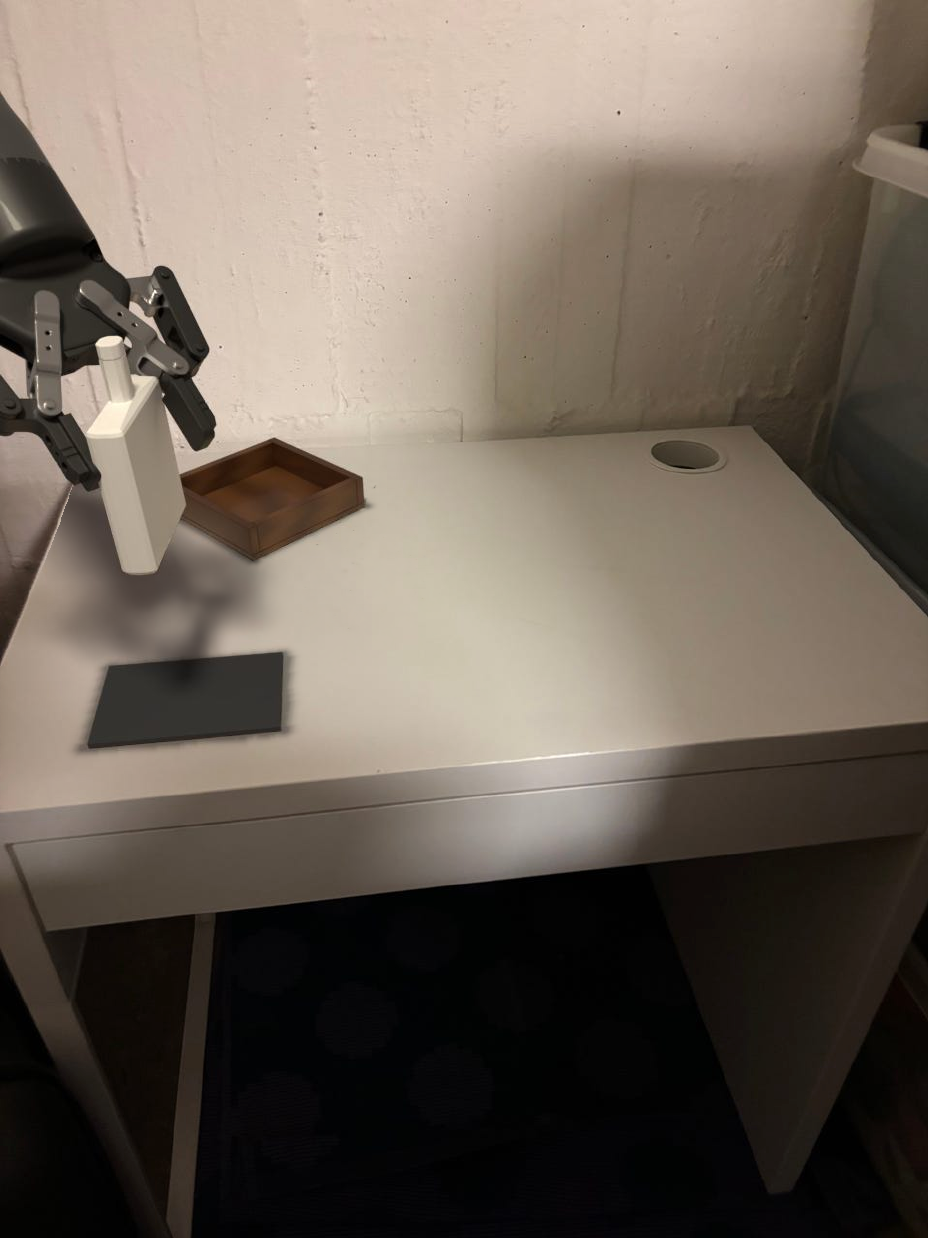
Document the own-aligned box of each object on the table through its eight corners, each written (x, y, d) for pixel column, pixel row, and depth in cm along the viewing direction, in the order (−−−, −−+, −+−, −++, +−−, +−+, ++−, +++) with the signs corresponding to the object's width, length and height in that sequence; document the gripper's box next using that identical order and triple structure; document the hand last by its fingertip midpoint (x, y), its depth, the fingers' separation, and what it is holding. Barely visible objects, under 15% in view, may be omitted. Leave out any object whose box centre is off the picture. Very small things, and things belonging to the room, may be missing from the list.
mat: (88, 748, 58) (86, 743, 58) (110, 670, 65) (108, 665, 65) (280, 731, 60) (280, 726, 60) (283, 656, 66) (282, 651, 66)
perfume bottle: (155, 506, 58) (110, 315, 51) (187, 505, 58) (146, 315, 51) (121, 576, 52) (64, 369, 45) (156, 575, 52) (105, 368, 45)
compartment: (253, 560, 77) (248, 529, 75) (167, 510, 84) (161, 481, 82) (364, 506, 84) (363, 476, 83) (277, 465, 91) (274, 436, 90)
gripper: (-149, 172, 43) (42, 480, 44) (125, 136, 52) (282, 393, 52) (-149, 268, 49) (19, 537, 50) (97, 221, 58) (238, 451, 58)
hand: (154, 462), depth 51 cm, fingers closed on perfume bottle, 6 cm apart
